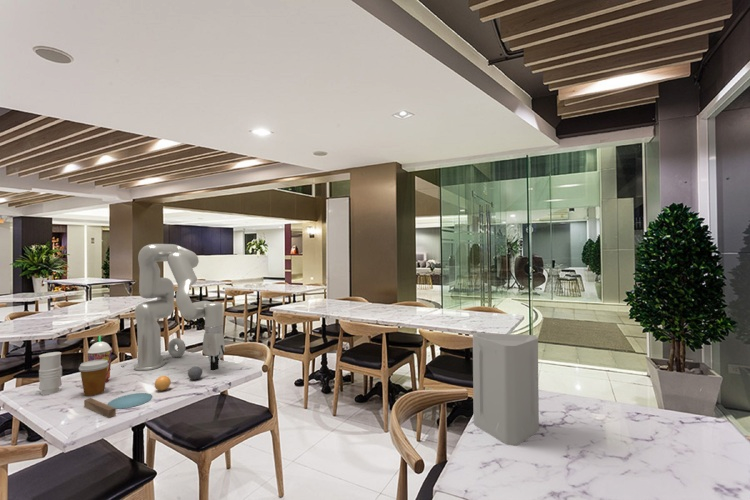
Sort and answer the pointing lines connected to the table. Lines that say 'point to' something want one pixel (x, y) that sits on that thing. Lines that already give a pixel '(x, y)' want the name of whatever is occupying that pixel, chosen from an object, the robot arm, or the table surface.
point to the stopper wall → (100, 407)
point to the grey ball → (195, 372)
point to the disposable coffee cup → (93, 376)
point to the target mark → (130, 400)
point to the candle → (50, 373)
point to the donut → (180, 345)
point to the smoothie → (101, 354)
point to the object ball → (162, 383)
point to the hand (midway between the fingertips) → (214, 369)
